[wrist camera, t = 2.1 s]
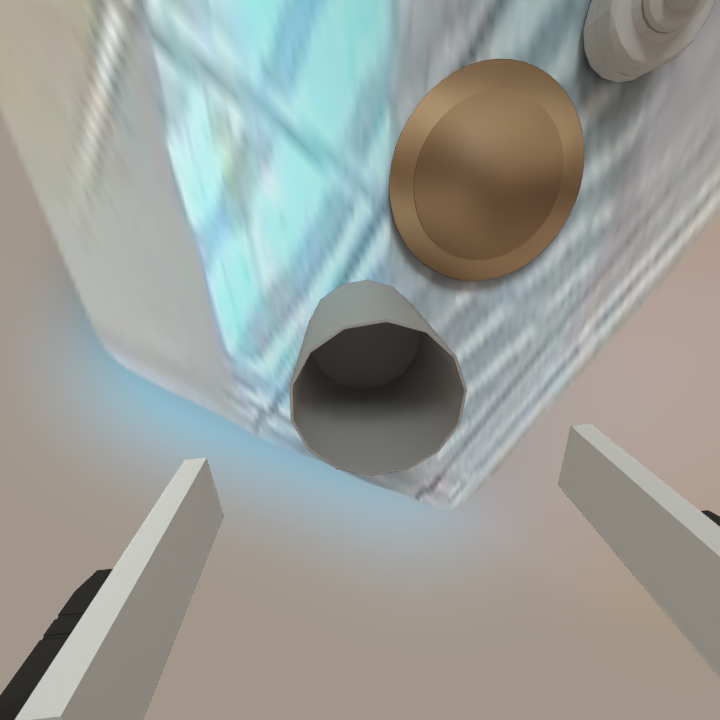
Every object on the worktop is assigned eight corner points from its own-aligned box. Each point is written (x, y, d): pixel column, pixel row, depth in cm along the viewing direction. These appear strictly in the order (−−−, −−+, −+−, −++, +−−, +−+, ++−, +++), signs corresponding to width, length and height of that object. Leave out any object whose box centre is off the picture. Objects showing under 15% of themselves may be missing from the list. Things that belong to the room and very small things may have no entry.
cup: (436, 299, 24) (495, 348, 15) (399, 395, 27) (430, 486, 18) (322, 266, 23) (310, 298, 14) (296, 372, 26) (273, 456, 16)
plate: (386, 71, 19) (388, 63, 18) (594, 59, 19) (606, 51, 18) (391, 284, 23) (393, 287, 22) (558, 272, 24) (566, 274, 23)
